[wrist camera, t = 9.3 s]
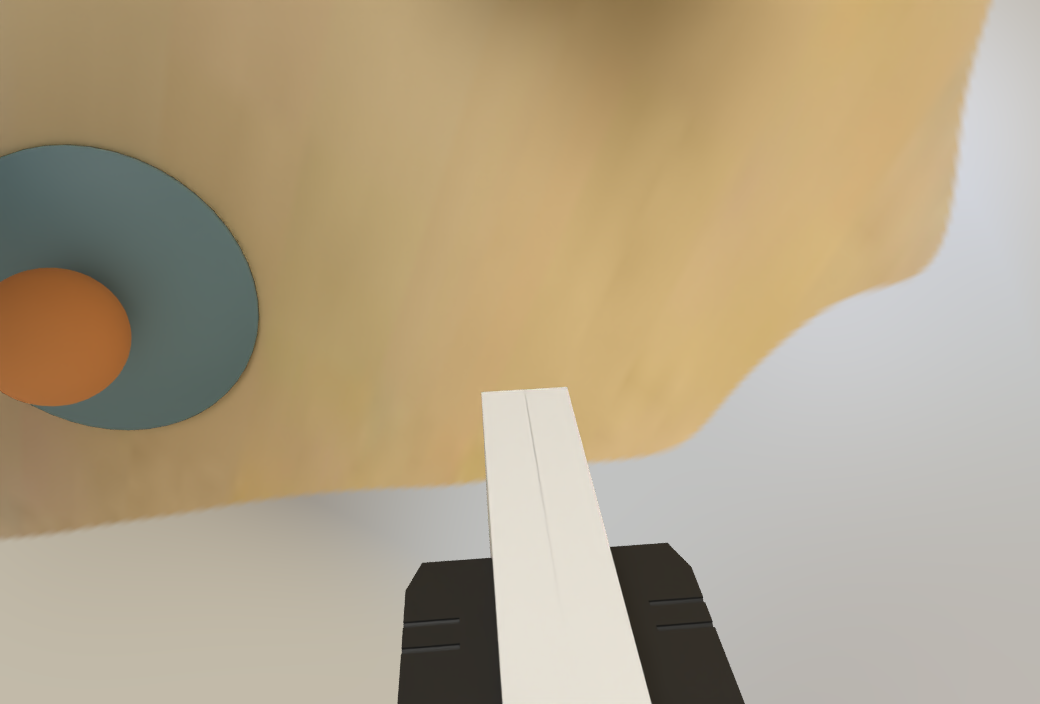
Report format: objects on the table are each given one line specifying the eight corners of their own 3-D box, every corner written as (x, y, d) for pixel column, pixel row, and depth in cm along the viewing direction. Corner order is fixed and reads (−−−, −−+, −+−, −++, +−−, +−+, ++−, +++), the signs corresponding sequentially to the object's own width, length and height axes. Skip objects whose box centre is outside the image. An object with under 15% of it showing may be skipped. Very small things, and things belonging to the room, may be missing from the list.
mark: (-41, 411, 35) (-43, 414, 35) (-92, 120, 29) (-95, 121, 29) (255, 441, 37) (255, 443, 37) (262, 171, 31) (261, 173, 31)
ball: (181, 348, 34) (86, 338, 35) (118, 243, 30) (15, 237, 32) (95, 443, 30) (-7, 426, 32) (10, 335, 26) (-99, 323, 28)
